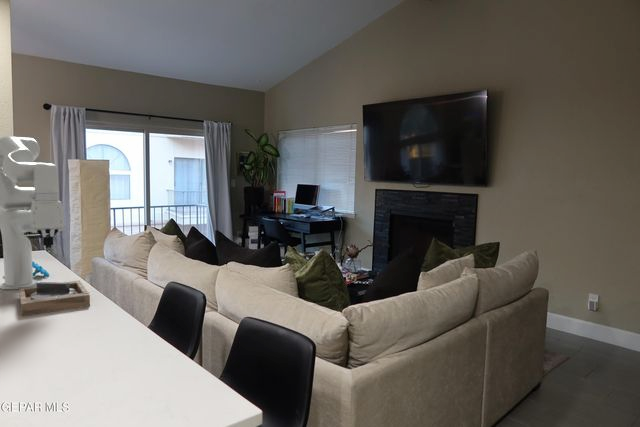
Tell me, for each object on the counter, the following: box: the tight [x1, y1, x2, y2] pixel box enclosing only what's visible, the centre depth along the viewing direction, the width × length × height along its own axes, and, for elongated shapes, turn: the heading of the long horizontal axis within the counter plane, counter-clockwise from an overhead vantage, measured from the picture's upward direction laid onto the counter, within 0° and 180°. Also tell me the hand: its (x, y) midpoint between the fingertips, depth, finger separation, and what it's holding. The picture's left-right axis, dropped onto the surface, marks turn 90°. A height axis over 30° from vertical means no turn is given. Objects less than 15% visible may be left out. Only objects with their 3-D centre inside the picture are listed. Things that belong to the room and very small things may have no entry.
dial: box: [30, 281, 76, 300], centre depth 159 cm, size 14×14×5 cm
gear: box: [32, 260, 50, 277], centre depth 195 cm, size 11×6×10 cm
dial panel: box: [18, 280, 91, 317], centre depth 159 cm, size 24×20×4 cm
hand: (48, 247), depth 161 cm, fingers closed
